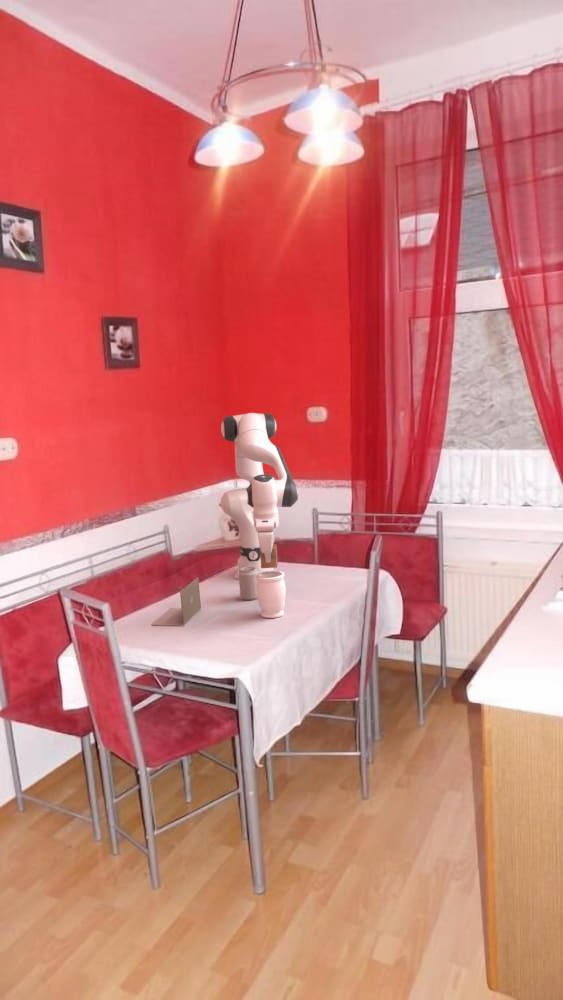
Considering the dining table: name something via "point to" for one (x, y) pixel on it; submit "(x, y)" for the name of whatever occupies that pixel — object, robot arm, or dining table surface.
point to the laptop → (183, 607)
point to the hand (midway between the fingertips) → (269, 559)
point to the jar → (271, 593)
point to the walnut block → (273, 559)
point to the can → (248, 583)
